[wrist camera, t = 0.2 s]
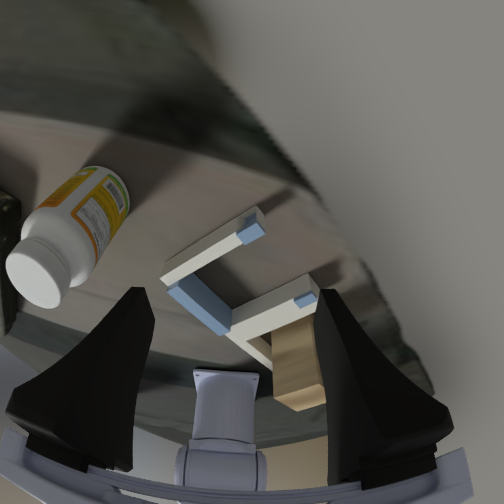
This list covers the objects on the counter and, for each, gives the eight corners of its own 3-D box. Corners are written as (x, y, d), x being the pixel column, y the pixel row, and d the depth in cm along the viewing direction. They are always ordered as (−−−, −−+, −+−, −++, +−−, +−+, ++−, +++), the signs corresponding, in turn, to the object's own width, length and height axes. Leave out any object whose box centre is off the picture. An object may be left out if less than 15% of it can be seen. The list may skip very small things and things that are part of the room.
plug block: (325, 328, 28) (337, 398, 22) (290, 342, 30) (296, 411, 23) (307, 307, 26) (318, 383, 20) (270, 323, 28) (273, 397, 21)
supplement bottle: (67, 210, 20) (1, 291, 13) (79, 153, 18) (-8, 224, 10) (121, 236, 22) (70, 331, 14) (140, 181, 19) (75, 271, 11)
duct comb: (350, 331, 29) (355, 351, 27) (277, 360, 32) (278, 380, 30) (256, 204, 20) (256, 224, 18) (165, 262, 23) (157, 283, 21)
